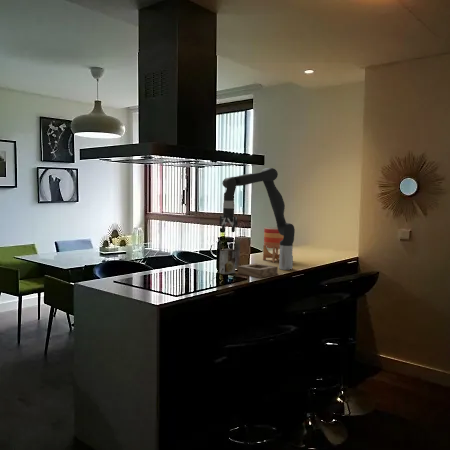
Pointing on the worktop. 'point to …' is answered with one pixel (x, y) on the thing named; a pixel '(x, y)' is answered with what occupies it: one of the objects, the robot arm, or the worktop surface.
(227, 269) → the coffee box
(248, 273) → the slot holder
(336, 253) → the worktop surface
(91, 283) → the worktop surface
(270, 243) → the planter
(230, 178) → the robot arm
